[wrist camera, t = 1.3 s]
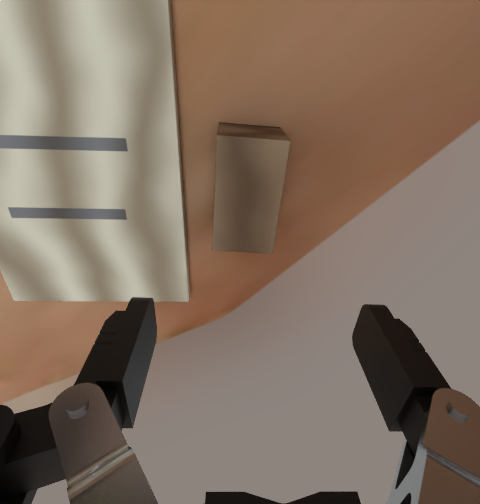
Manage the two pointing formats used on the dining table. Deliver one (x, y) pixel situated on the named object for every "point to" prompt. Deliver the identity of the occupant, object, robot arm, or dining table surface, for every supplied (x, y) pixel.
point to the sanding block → (248, 186)
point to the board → (90, 152)
